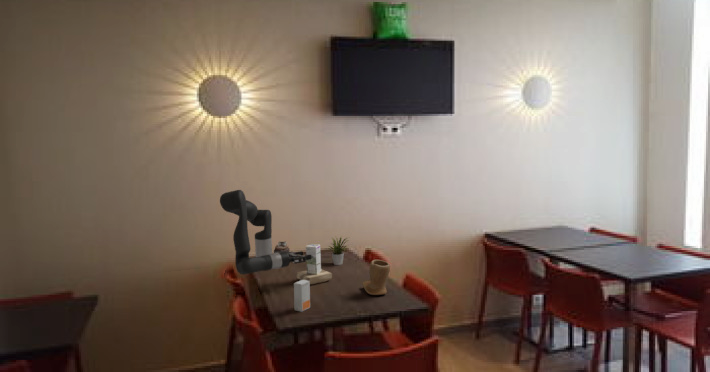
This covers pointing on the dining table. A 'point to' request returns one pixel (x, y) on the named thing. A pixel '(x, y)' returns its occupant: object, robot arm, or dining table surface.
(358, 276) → the dining table surface
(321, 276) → the wood stand
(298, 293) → the skincare box
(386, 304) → the dining table surface
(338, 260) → the house plant
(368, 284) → the stone cup
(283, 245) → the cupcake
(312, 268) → the syrup box
